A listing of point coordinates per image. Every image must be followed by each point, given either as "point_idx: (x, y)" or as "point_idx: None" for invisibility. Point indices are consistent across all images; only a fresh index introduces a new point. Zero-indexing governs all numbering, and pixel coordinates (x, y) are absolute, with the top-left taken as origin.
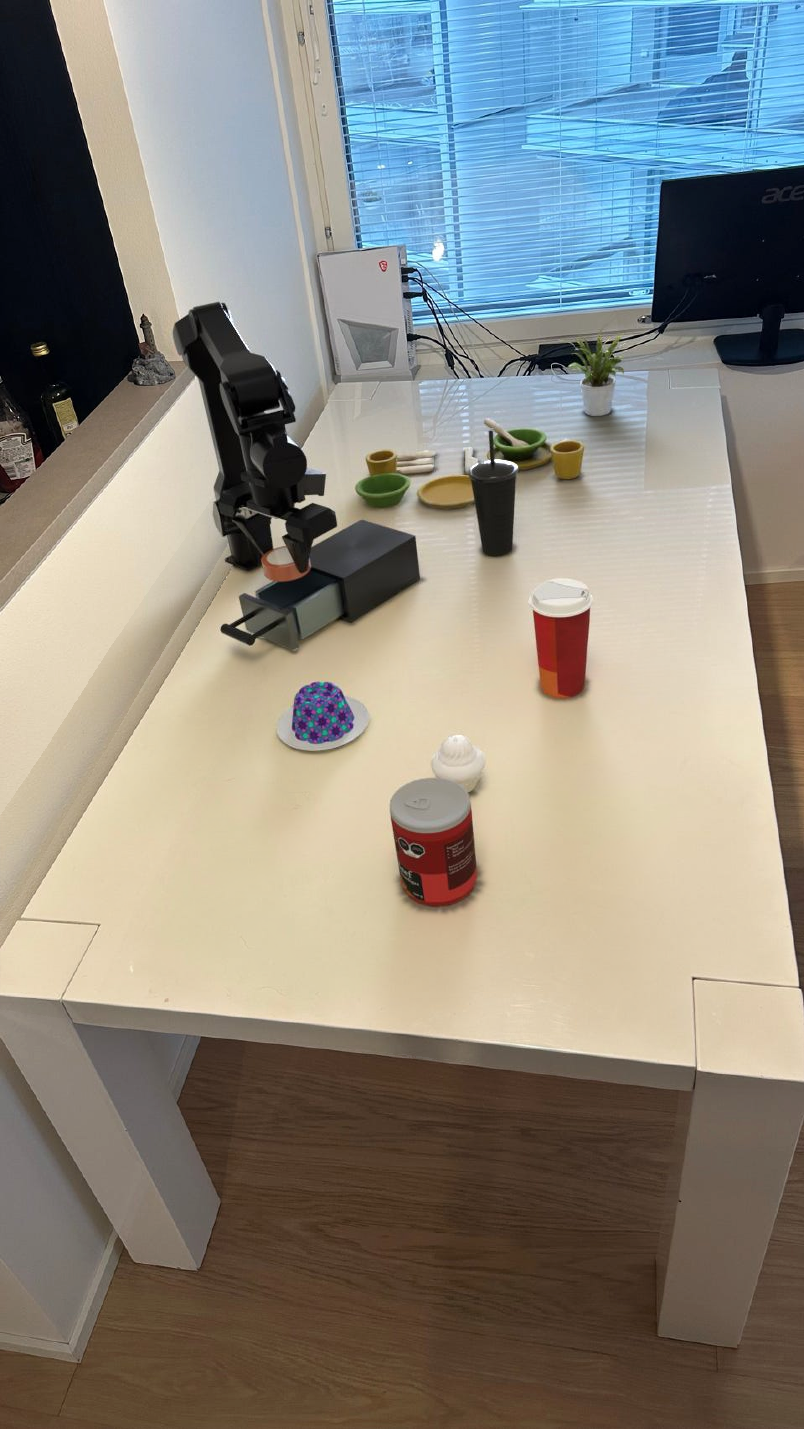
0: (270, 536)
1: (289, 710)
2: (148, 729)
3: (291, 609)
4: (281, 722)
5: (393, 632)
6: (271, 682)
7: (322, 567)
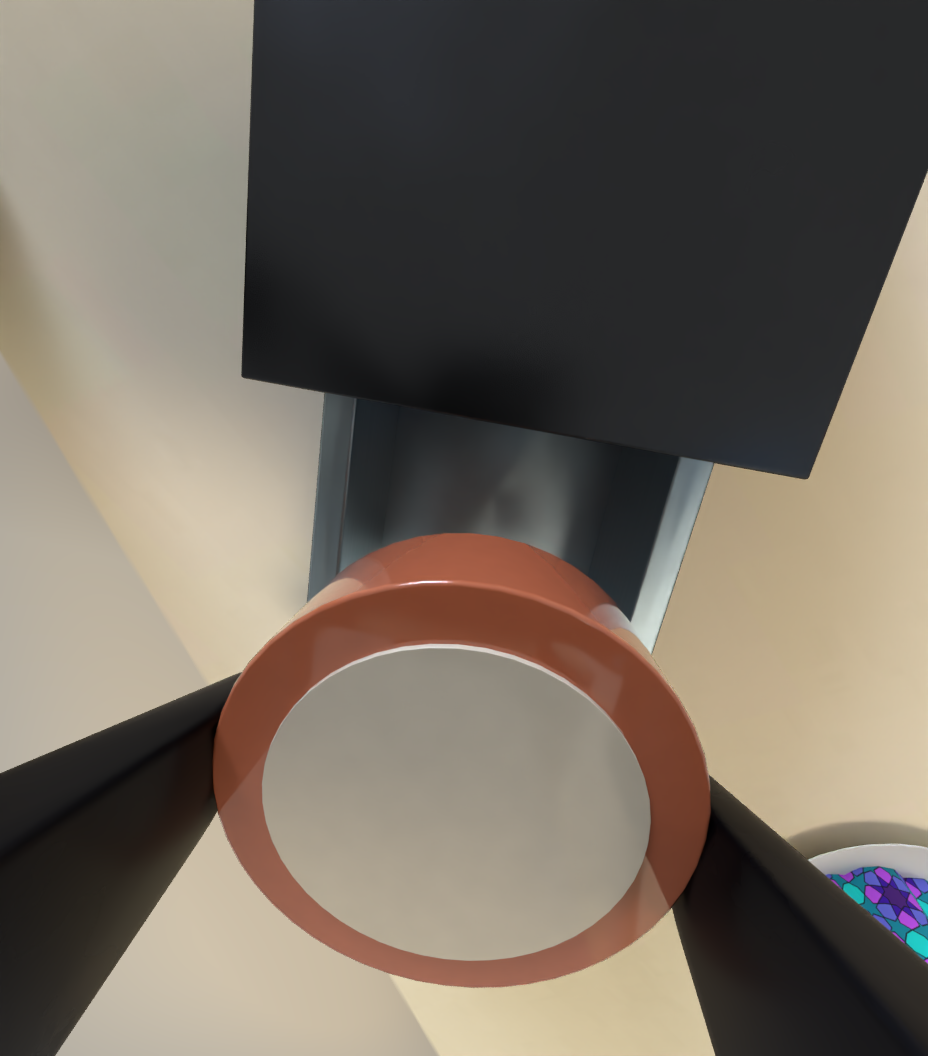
0: (60, 845)
1: None
2: (421, 1023)
3: (423, 531)
4: None
5: (877, 440)
6: None
7: (558, 396)
